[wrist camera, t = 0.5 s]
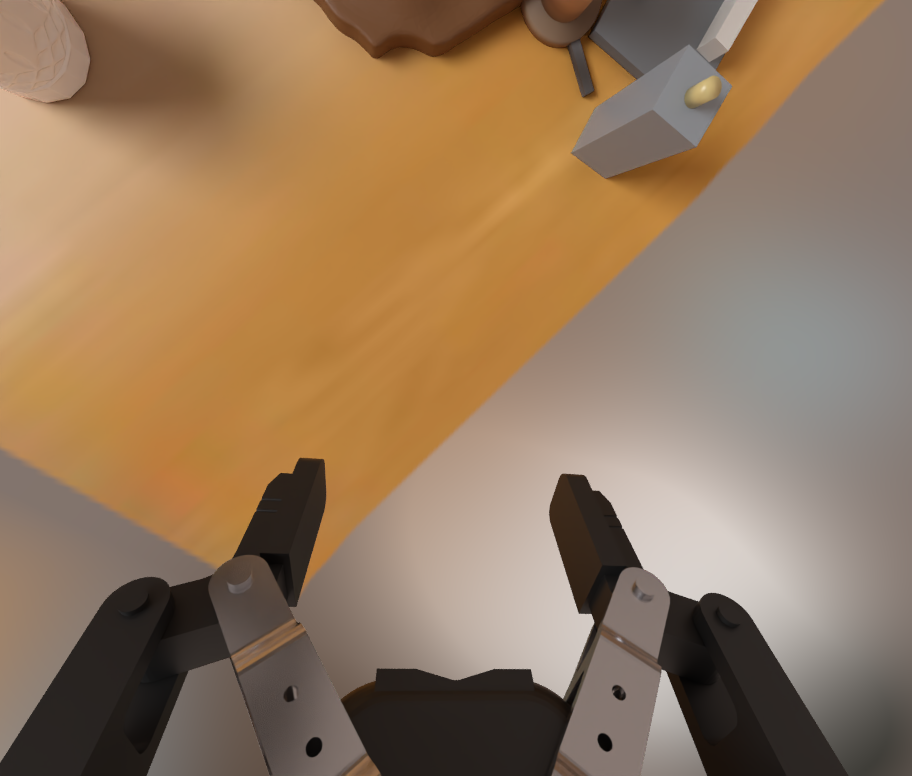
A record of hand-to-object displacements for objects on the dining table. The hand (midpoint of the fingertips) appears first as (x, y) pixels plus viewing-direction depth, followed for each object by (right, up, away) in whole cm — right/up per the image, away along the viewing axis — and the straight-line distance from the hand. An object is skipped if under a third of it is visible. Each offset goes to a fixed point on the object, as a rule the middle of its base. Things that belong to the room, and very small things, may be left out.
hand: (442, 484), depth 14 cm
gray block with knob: (+13, +25, +22) cm, 36 cm away
